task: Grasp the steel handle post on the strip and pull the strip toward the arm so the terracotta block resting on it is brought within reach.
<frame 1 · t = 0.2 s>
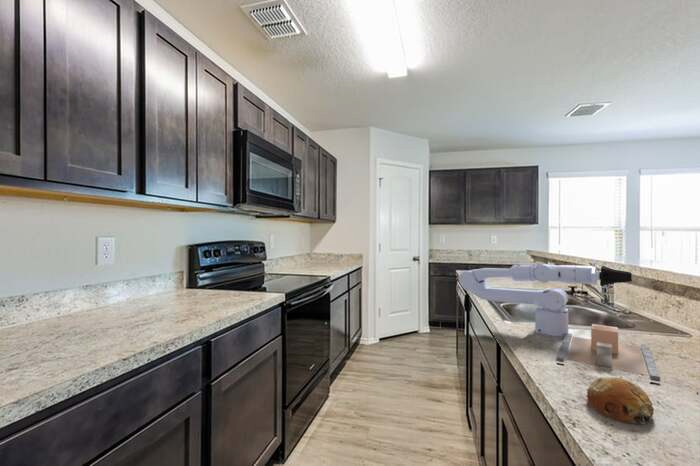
hand: (631, 276, 98), 22 cm above the countertop, tool horizontal, fingers open, 7 cm apart
guide rails: (604, 358, 91), on the countertop
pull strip: (604, 345, 92), point 3 cm above the countertop, slide at 0.0 cm, touching terracotta block
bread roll: (620, 412, 64), on the countertop
terracotta block: (604, 348, 95), point 1 cm above the countertop, touching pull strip
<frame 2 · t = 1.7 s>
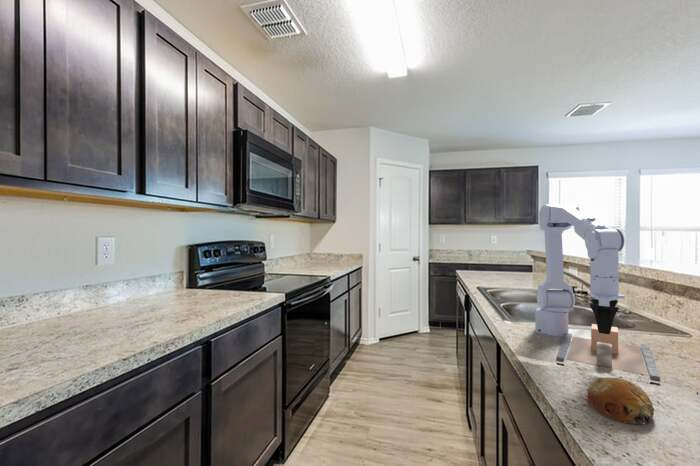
hand: (604, 329, 84), 10 cm above the countertop, tool pointing down, fingers open, 7 cm apart
nothing on the countertop moved.
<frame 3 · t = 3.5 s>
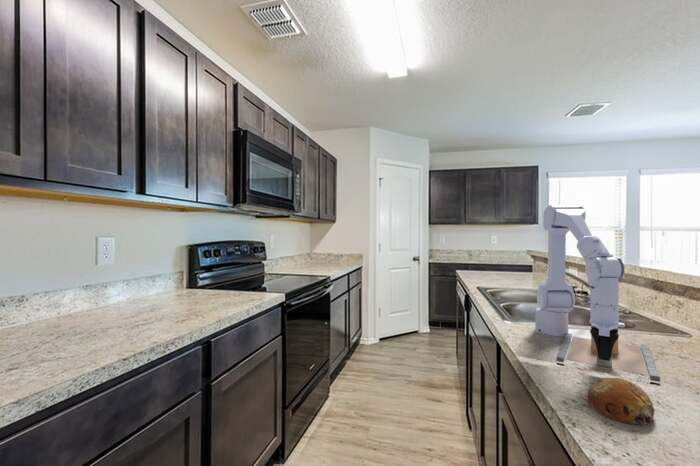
hand: (604, 357, 84), 3 cm above the countertop, tool pointing down, fingers closed on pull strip, 3 cm apart
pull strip: (604, 345, 92), point 3 cm above the countertop, slide at 0.0 cm, touching gripper, terracotta block
everything else where it was.
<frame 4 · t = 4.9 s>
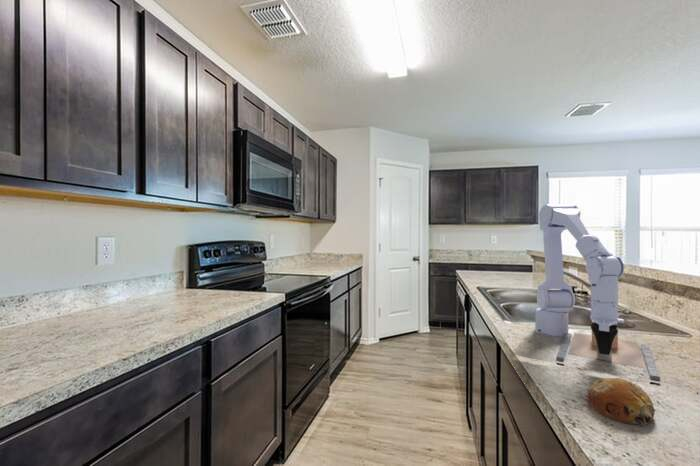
hand: (604, 351, 88), 3 cm above the countertop, tool pointing down, fingers closed on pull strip, 3 cm apart
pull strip: (604, 340, 96), point 3 cm above the countertop, slide at 5.0 cm, touching gripper, terracotta block
terracotta block: (604, 344, 99), point 1 cm above the countertop, touching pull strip
everything else where it was.
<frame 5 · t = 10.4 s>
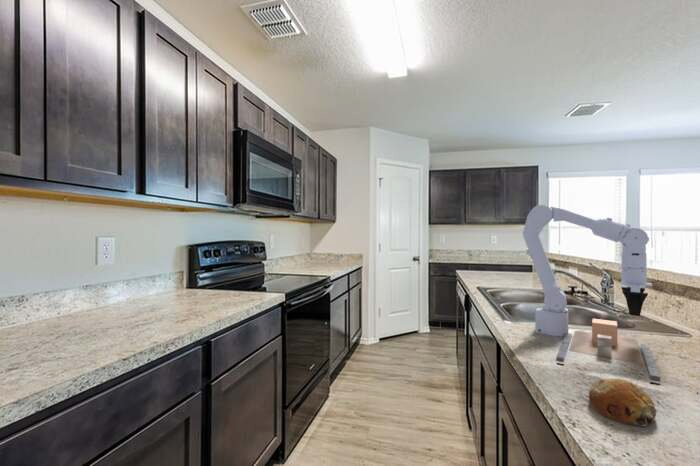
hand: (633, 313, 100), 10 cm above the countertop, tool pointing down, fingers open, 7 cm apart
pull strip: (604, 338, 98), point 3 cm above the countertop, slide at 8.0 cm, touching terracotta block
terracotta block: (604, 341, 101), point 1 cm above the countertop, touching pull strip
everything else where it was.
at the end: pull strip slide at 8.0 cm; terracotta block inside the target area (0.0 cm from its centre), point 1.2 cm above the countertop; terracotta block tilted 0° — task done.
